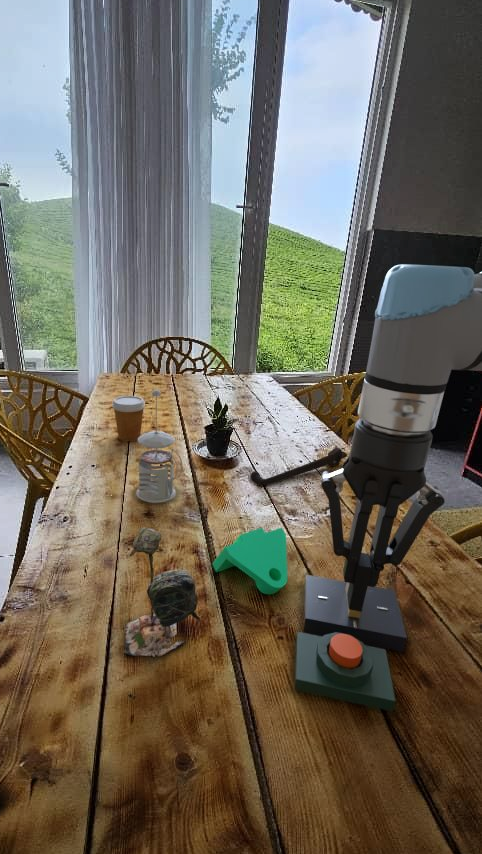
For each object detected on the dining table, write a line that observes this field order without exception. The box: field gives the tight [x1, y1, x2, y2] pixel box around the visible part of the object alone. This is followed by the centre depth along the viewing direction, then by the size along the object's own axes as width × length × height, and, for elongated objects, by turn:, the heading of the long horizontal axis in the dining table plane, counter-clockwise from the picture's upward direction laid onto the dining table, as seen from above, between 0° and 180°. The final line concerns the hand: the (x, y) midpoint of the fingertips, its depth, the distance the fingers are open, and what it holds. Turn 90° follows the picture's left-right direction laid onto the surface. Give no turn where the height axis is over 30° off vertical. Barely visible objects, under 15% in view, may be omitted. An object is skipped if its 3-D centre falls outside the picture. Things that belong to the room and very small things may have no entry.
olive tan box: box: [346, 545, 367, 618], centre depth 66 cm, size 6×2×9 cm, turn 167°
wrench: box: [250, 446, 348, 486], centre depth 116 cm, size 5×5×30 cm
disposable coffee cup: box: [111, 395, 146, 442], centre depth 131 cm, size 10×10×12 cm
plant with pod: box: [123, 526, 202, 658], centre depth 60 cm, size 8×11×20 cm
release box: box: [293, 631, 397, 712], centre depth 59 cm, size 12×8×4 cm, turn 77°
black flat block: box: [302, 574, 408, 653], centre depth 68 cm, size 14×10×3 cm
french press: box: [135, 389, 183, 504], centre depth 97 cm, size 10×12×25 cm
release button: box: [329, 634, 363, 668], centre depth 58 cm, size 4×4×2 cm
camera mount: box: [211, 527, 288, 595], centre depth 76 cm, size 12×8×10 cm
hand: (354, 602), depth 55 cm, fingers closed
